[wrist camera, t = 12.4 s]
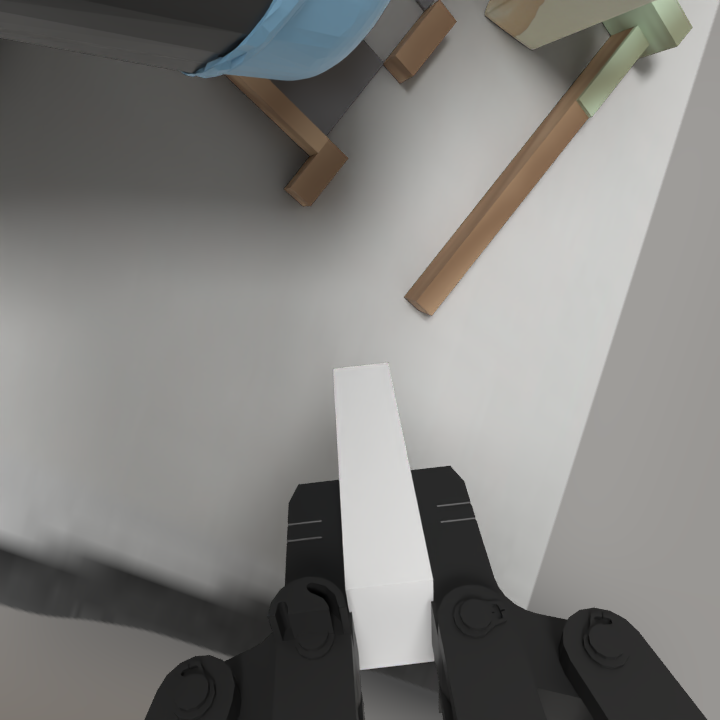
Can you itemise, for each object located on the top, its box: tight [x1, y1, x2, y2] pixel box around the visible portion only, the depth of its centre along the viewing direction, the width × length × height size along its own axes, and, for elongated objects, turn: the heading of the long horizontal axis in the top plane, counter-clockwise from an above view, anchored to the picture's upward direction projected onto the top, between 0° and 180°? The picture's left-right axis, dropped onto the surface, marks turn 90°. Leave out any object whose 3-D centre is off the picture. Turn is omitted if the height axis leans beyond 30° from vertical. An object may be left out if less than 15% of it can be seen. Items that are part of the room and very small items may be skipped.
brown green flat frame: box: [224, 0, 692, 316], centre depth 31 cm, size 20×24×4 cm
